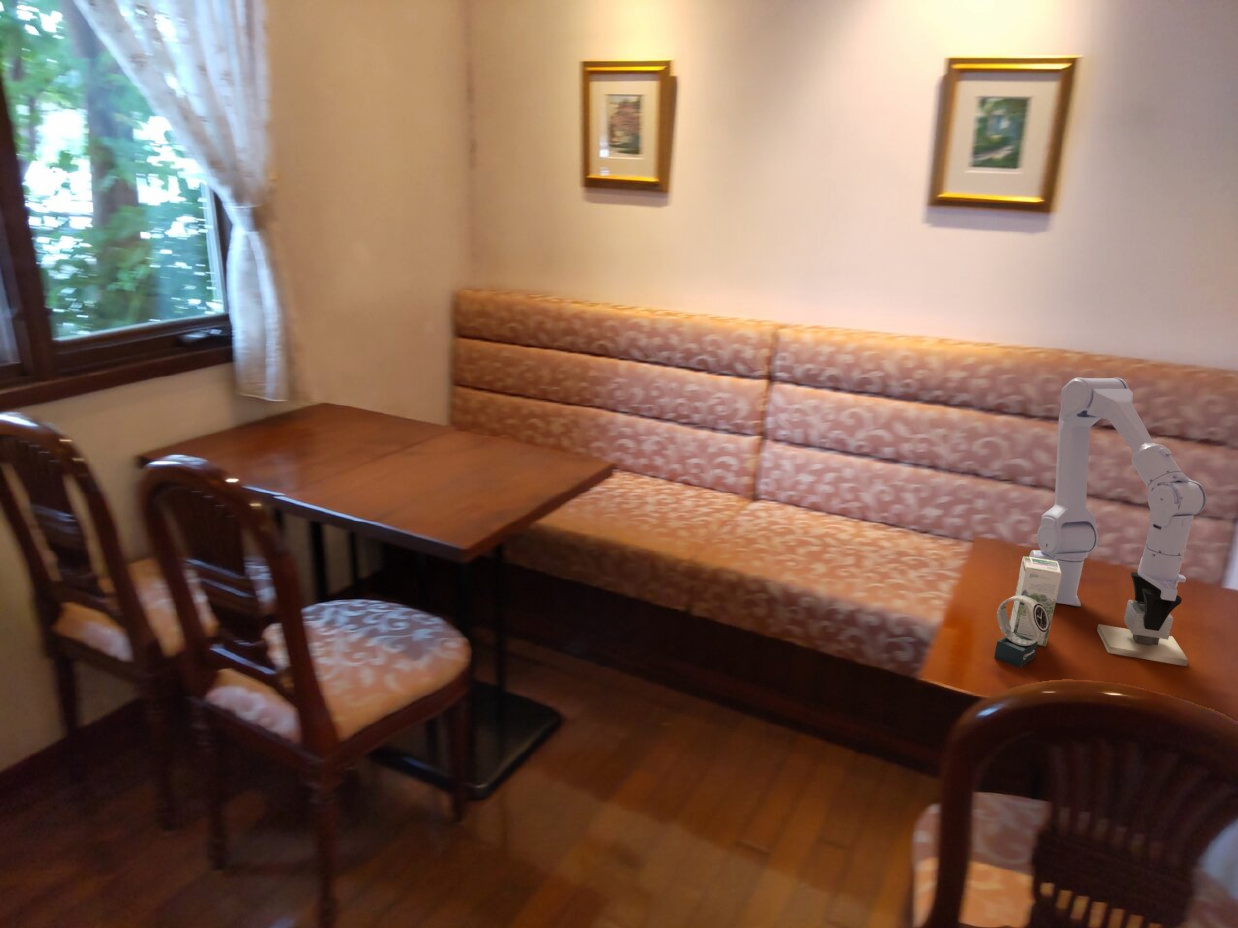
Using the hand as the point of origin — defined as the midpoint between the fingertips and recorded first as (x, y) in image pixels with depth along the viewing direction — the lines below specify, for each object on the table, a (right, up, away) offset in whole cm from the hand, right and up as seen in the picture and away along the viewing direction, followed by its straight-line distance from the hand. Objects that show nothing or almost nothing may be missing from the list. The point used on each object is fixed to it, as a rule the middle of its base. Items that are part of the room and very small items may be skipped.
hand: (1146, 621), depth 149 cm
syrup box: (-20, -4, +3) cm, 20 cm away
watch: (-25, -6, -4) cm, 26 cm away
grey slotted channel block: (0, -1, 0) cm, 2 cm away
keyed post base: (0, -5, +1) cm, 5 cm away
